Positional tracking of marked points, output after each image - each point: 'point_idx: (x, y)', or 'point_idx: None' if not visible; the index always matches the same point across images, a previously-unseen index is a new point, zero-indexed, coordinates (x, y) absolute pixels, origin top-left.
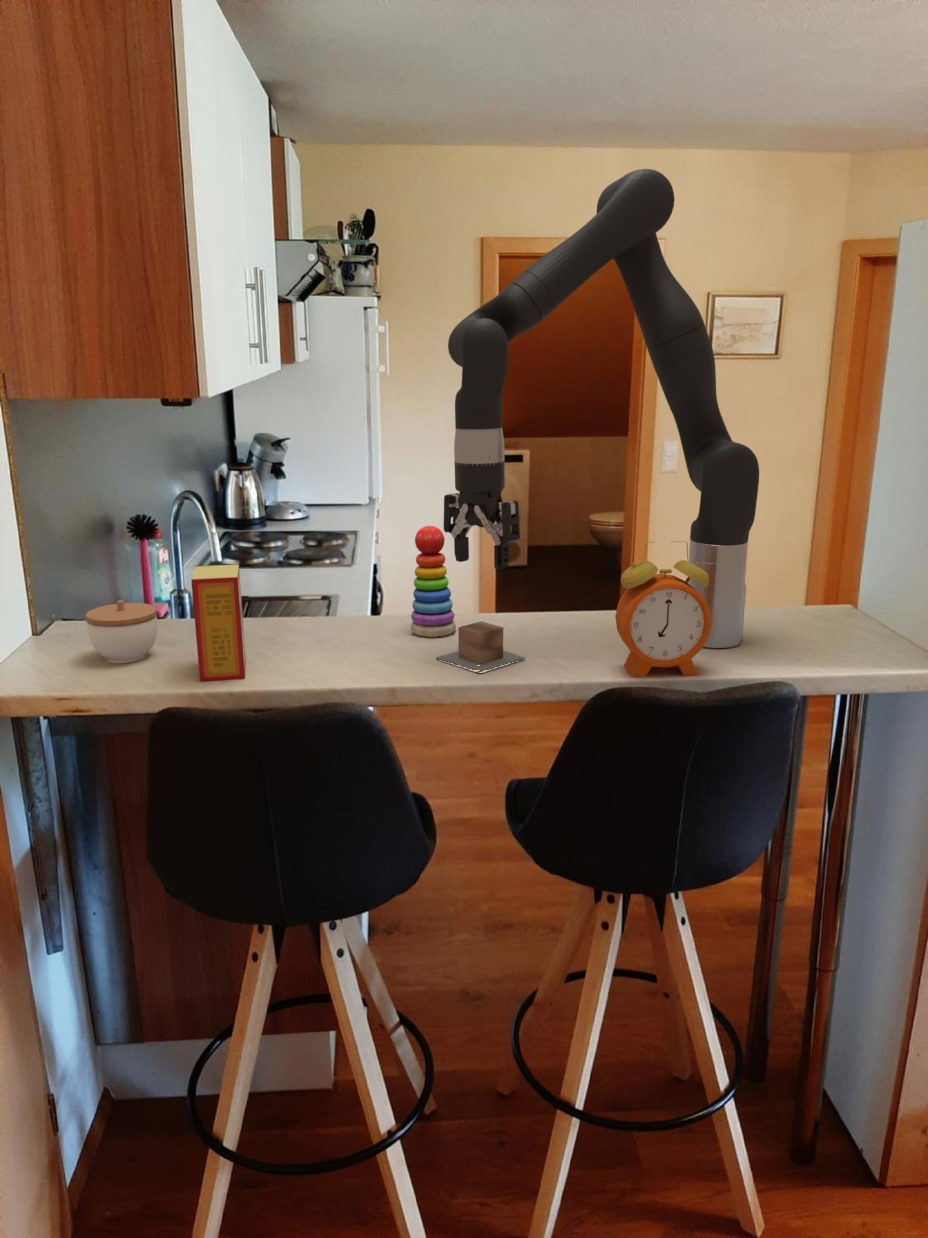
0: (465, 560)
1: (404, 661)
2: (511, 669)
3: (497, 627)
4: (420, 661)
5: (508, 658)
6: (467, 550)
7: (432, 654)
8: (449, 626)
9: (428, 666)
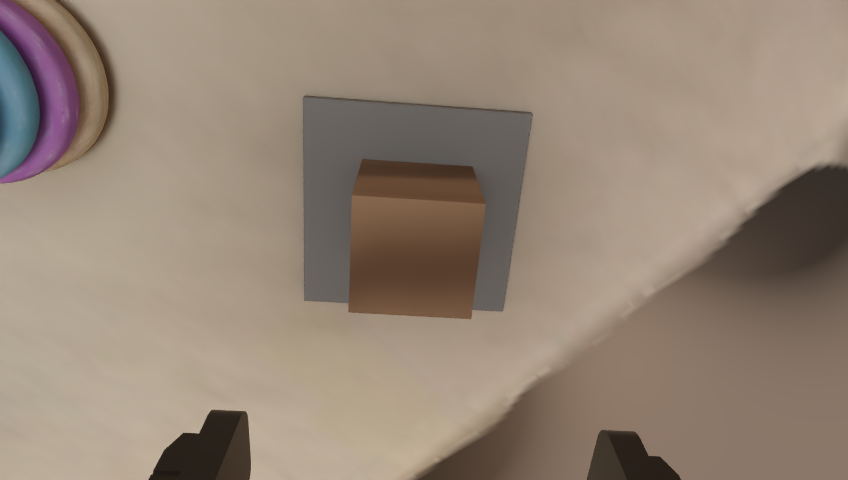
0: (247, 429)
1: (251, 361)
2: (549, 215)
3: (468, 220)
4: (284, 333)
5: (492, 161)
6: (224, 466)
7: (254, 267)
8: (88, 75)
9: (336, 348)
